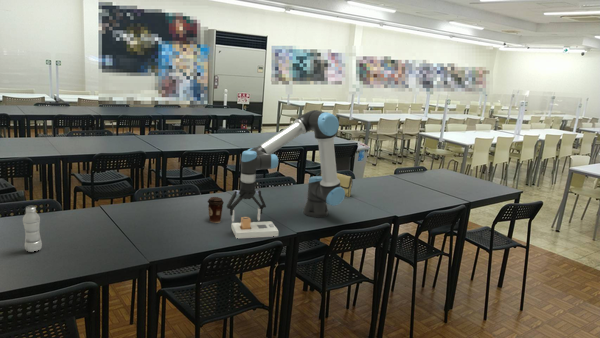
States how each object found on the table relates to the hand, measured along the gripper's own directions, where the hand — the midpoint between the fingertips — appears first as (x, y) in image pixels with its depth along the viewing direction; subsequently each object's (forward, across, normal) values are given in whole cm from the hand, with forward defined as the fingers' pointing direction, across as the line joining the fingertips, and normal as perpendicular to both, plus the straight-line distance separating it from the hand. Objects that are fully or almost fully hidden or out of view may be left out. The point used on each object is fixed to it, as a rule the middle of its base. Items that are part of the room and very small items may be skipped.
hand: (245, 220), depth 228 cm
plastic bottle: (+7, +95, +8) cm, 96 cm away
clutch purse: (+7, -78, -64) cm, 101 cm away
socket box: (+7, -5, 0) cm, 8 cm away
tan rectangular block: (+7, 0, 0) cm, 7 cm away
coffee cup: (+7, +13, -19) cm, 24 cm away
